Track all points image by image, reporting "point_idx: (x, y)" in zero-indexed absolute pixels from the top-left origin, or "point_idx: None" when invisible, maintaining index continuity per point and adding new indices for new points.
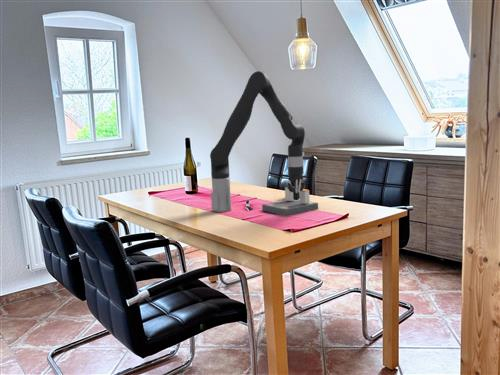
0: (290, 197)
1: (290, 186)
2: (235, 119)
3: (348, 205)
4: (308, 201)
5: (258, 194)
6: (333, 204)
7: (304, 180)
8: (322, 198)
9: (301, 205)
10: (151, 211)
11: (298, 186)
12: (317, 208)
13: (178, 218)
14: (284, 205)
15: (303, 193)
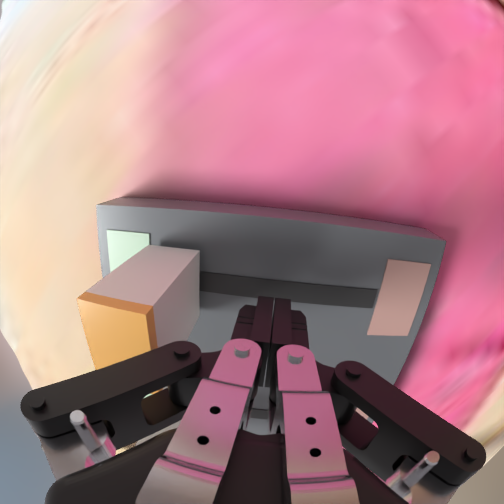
0: None
1: (435, 429)
2: None
3: (3, 138)
4: (154, 250)
5: None
6: (19, 213)
7: (47, 435)
8: (13, 331)
9: (248, 253)
10: None
11: (244, 410)
12: (124, 198)
13: (498, 444)
14: (326, 357)
15: (164, 317)
